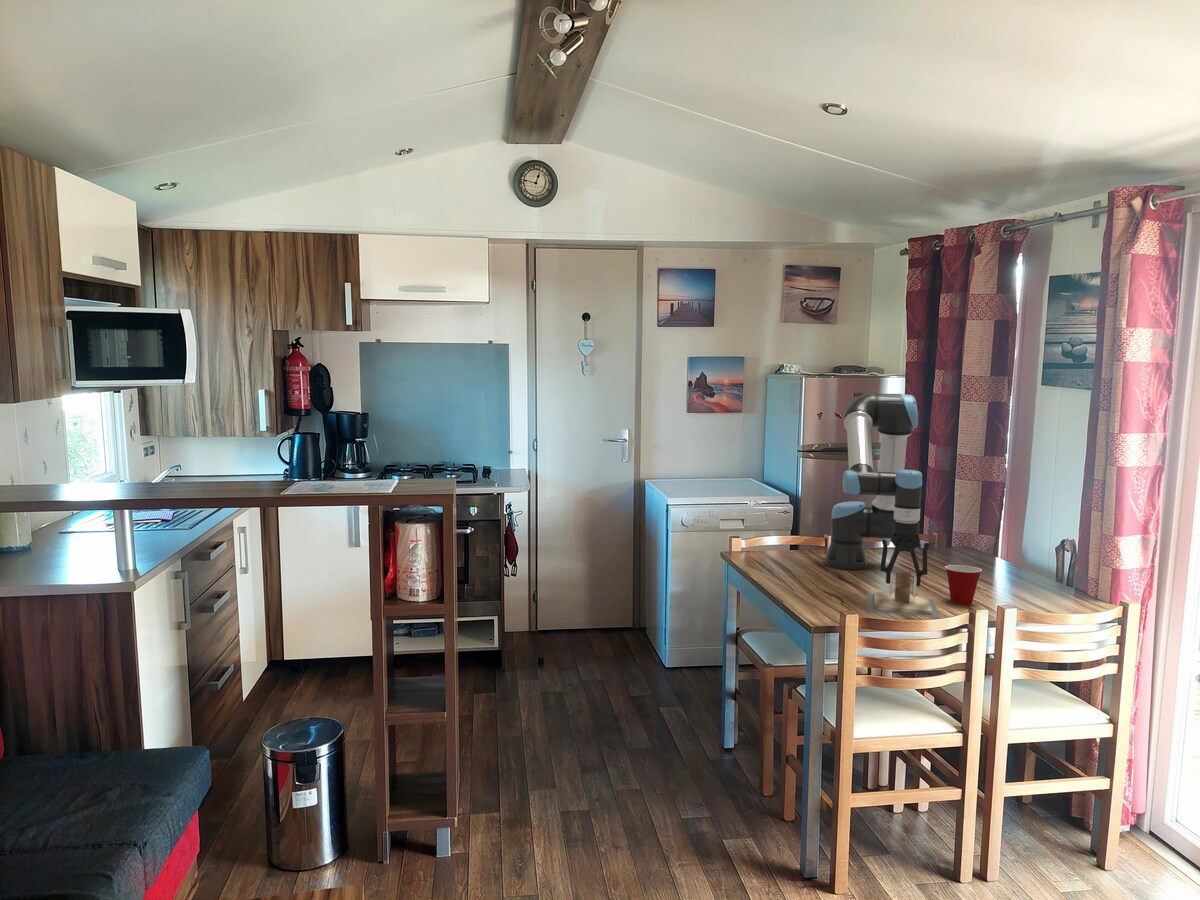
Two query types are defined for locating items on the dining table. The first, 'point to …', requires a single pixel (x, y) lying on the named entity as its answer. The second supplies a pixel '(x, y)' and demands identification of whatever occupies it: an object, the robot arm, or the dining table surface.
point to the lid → (902, 598)
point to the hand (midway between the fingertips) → (902, 594)
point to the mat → (872, 608)
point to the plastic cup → (962, 583)
